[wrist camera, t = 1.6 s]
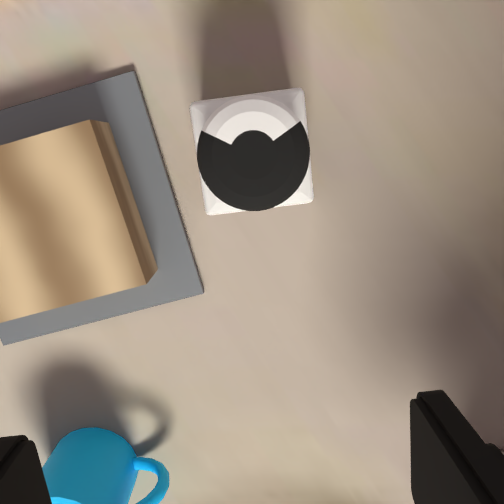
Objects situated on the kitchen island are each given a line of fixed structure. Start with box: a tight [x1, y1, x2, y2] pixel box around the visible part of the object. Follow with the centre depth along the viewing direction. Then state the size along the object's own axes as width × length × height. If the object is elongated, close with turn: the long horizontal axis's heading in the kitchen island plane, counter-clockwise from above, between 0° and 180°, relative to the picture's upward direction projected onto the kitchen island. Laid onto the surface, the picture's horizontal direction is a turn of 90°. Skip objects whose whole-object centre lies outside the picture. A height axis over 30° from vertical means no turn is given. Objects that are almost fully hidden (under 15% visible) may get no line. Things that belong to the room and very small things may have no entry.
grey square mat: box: [0, 71, 204, 346], centre depth 35 cm, size 18×18×1 cm
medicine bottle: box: [189, 88, 314, 215], centre depth 28 cm, size 7×7×12 cm
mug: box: [42, 427, 169, 504], centre depth 37 cm, size 12×8×8 cm
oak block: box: [0, 120, 158, 323], centre depth 33 cm, size 12×12×4 cm
